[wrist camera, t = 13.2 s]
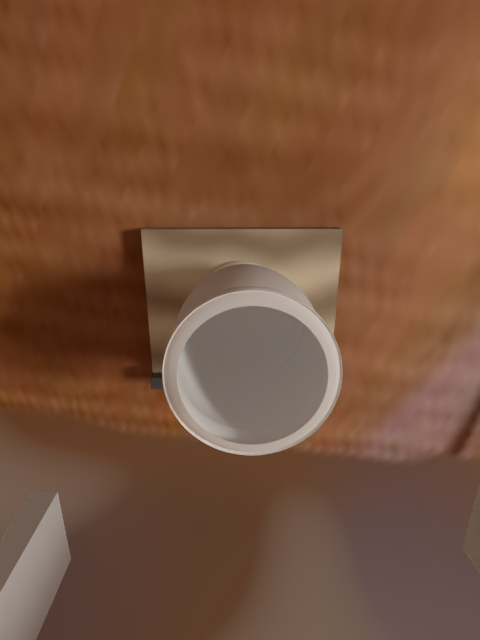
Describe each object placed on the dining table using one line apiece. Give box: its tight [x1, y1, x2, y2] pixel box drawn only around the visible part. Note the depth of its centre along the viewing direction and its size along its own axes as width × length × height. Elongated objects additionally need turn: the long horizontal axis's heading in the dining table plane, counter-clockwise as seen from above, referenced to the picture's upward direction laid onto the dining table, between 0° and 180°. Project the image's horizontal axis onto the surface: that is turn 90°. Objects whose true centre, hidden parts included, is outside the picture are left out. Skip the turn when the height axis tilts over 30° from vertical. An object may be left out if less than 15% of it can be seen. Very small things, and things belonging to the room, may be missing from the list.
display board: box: [141, 227, 343, 389], centre depth 36 cm, size 15×18×3 cm
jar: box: [162, 261, 343, 455], centre depth 28 cm, size 11×10×15 cm
